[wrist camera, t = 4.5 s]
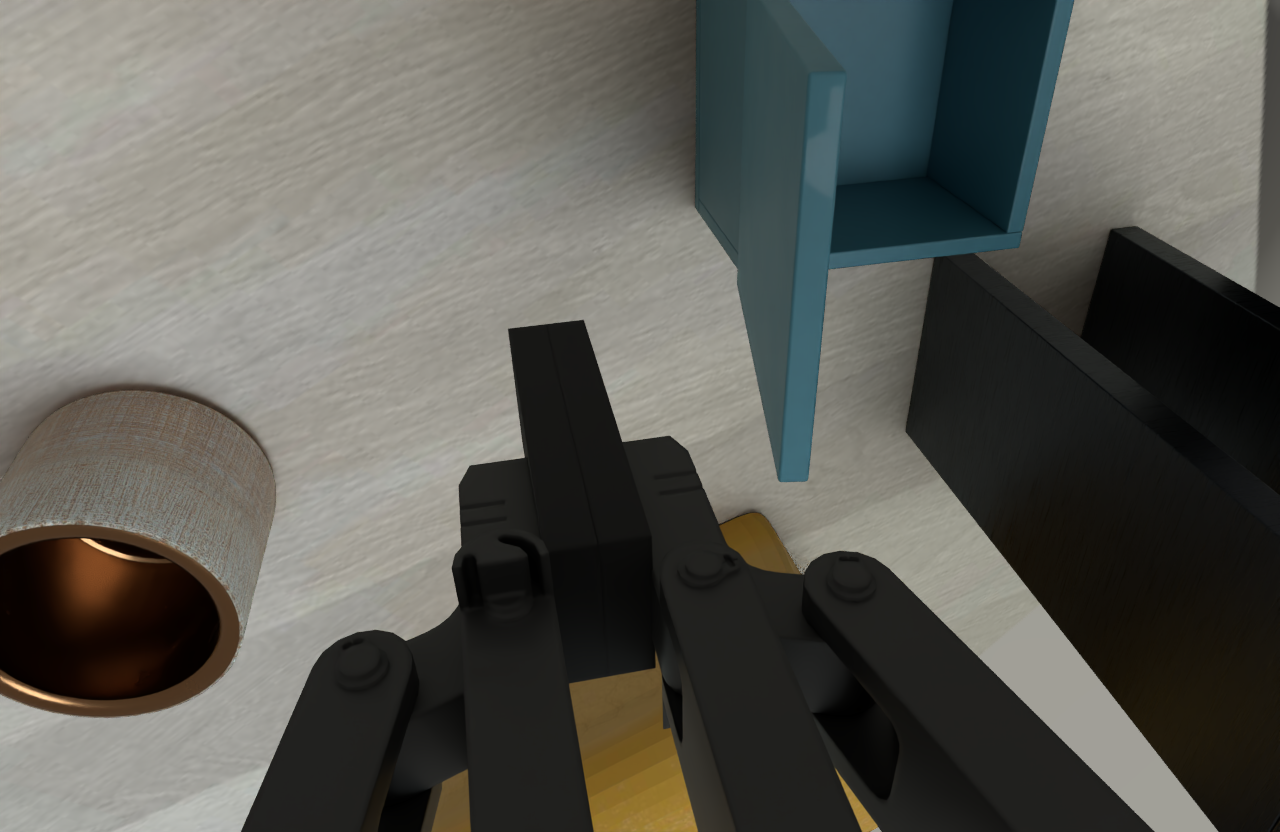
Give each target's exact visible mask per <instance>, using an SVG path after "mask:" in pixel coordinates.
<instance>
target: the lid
mask: <svg viewBox="0 0 1280 832" xmlns="http://www.w3.org/2000/svg"><path fill="white" fill-rule="evenodd" d="M846 83H847V72H846V70H845V69H844V68H843V67H842V66H841V64H840V63H839V62H838V61H837V59H836V58H835V57H834V56H833V54H832V53H831V52H830V51H829V50H828V48H827V47H826V46H825V45H824V43H823V42H822V41H821V40H820V39H819V37H818V36H817V35H816V34H815V32H814V31H813V30H812V29H811V27H810V26H809V25H808V24H807V23H806V21H805V20H804V19H803V18H802V16H801V15H800V14H799V13H798V11H797V10H796V9H795V8H794V7H793V5H792V4H791V3H790V2H789V0H747V13H746V42H745V71H744V100H743V129H742V158H741V187H740V216H739V244H738V273H737V286H738V291H739V295H740V300H741V305H742V310H743V314H744V319H745V324H746V329H747V333H748V338H749V343H750V348H751V352H752V357H753V362H754V367H755V372H756V376H757V381H758V386H759V391H760V395H761V400H762V405H763V410H764V414H765V419H766V424H767V429H768V433H769V438H770V443H771V448H772V452H773V457H774V462H775V467H776V472H777V476H778V480H779V481H780V482H804V481H807V480H808V476H809V466H810V456H811V445H812V435H813V424H814V414H815V404H816V393H817V383H818V373H819V362H820V352H821V342H822V331H823V321H824V311H825V300H826V290H827V279H828V269H829V259H830V248H831V238H832V228H833V217H834V207H835V197H836V186H837V176H838V166H839V155H840V145H841V134H842V124H843V114H844V103H845V93H846Z"/></svg>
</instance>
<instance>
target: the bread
mask: <svg viewBox="0 0 1280 832" xmlns="http://www.w3.org/2000/svg"><path fill="white" fill-rule="evenodd" d="M720 529H721V531H722V534H723V536H724V538H725V541H726V543H727V545H728V546H729V547H730V548H732V549H734V550H735V551H737V552H739V553H740V555H741V556H742V557H743V559H744V560H745V561H746V563H748V564H749V565H751V566H754V567H757V568H760V569H762V570H767V571H773V572H780V573H791V574H801V573H800V572H799V570H798V569H797V567H796V565H795V564H794V562H793V560H792V559H791V557H790V555H789V554H788V552H787V550H786V549H785V547H784V545H783V544H782V542H781V541H780V539H779V537H778V536H777V534H776V532H775V531H774V529H773V528H772V526H771V524H770V523H769V521H768V520H767V519H766V518H765V517H764V516H763V515H761V514H759V513H749V514H746V515H743V516H740V517H737V518H735V519H733V520H730V521H728V522H726V523H724V524H722V525H720ZM655 659H656V668H654V669H648V670H643V671H637V672H631V673H626V674H620V675H615V676H609V677H603V678H598V679H592V680H587V681H581V682H575V683H570V684H569V687H570V693H571V699H572V705H573V711H574V717H575V723H576V729H577V735H578V741H579V747H580V753H581V759H582V764H583V770H584V776H585V782H586V788H587V794H588V800H589V806H590V812H591V818H592V824H593V830H594V832H698V829H697V826H696V822H695V818H694V814H693V811H692V807H691V803H690V799H689V796H688V792H687V788H686V784H685V781H684V777H683V773H682V769H681V765H680V762H679V758H678V754H677V750H676V747H675V743H674V739H673V735H672V732H671V728H668V729H663V705H662V673H661V669H660V665H659V662H658V658H657V655H656V651H655ZM836 772H837V774H838V776H839V779H840V781H841V783H842V786H843V788H844V790H845V793H846V795H847V797H848V800H849V802H850V804H851V807H852V809H853V811H854V814H855V816H856V818H857V821H858V823H859V825H860V828H861V830H862V832H870V831H872V830H874V829H876V828H877V827H878V826H877V824H876V823H875V822H874V820H873V819H872V818H871V816H870V815H869V814H868V812H867V811H866V809H865V808H864V807H863V805H862V804H861V803H860V801H859V800H858V799H857V797H856V796H855V795H854V793H853V792H852V790H851V789H850V788H849V786H848V785H847V784H846V782H845V781H844V780H843V778H842V777H841V776H840V774H839V773H838V771H837V770H836ZM431 832H471V829H470V807H469V786H468V769H467V770H465V771H463V772H461V773H459V774H457V775H455V776H453V777H451V778H449V779H447V780H445V781H443V782H442V791H441V795H440V799H439V803H438V807H437V811H436V815H435V819H434V823H433V827H432V831H431Z"/></svg>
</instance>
